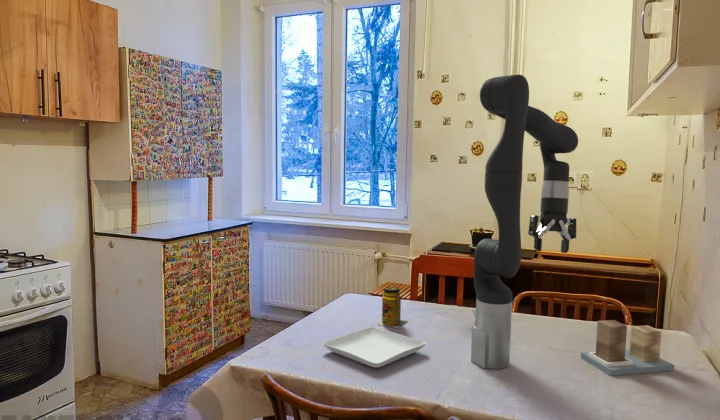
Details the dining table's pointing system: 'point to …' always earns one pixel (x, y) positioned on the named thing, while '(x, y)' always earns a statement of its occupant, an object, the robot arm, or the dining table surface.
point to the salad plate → (374, 346)
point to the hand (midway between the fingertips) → (551, 251)
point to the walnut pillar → (611, 341)
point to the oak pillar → (645, 343)
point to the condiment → (391, 308)
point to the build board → (627, 364)
